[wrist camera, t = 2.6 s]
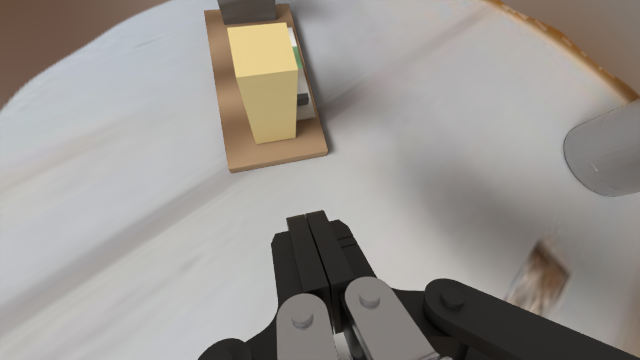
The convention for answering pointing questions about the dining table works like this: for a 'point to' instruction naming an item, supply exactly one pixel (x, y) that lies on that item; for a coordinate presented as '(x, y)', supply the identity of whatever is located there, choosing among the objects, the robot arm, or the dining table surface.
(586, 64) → the dining table surface
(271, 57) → the block
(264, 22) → the base
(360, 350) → the robot arm
